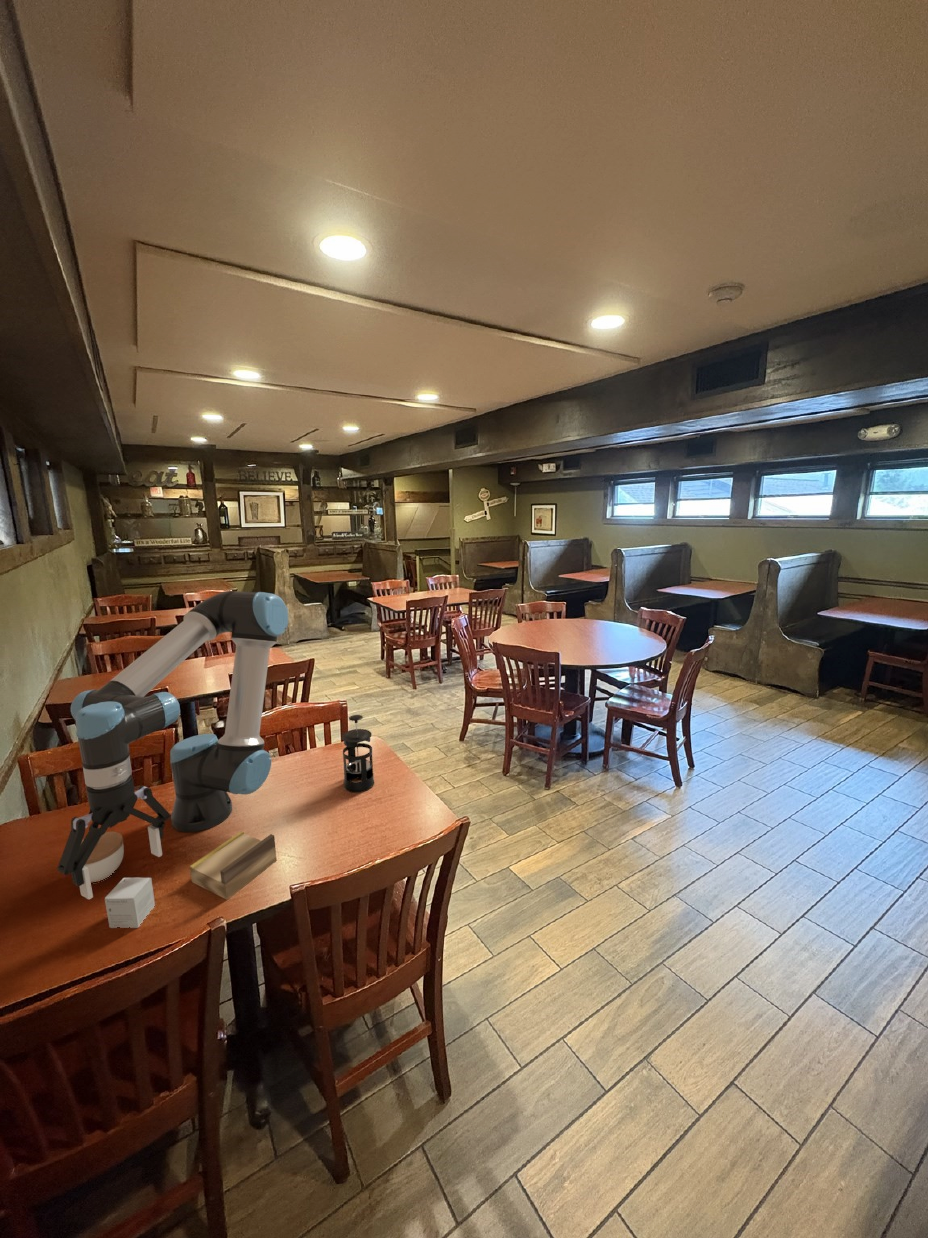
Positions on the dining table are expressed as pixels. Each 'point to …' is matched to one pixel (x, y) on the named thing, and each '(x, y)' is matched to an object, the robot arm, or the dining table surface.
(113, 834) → the lidded jar
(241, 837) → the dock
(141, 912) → the product box
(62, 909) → the dining table surface
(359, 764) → the french press
